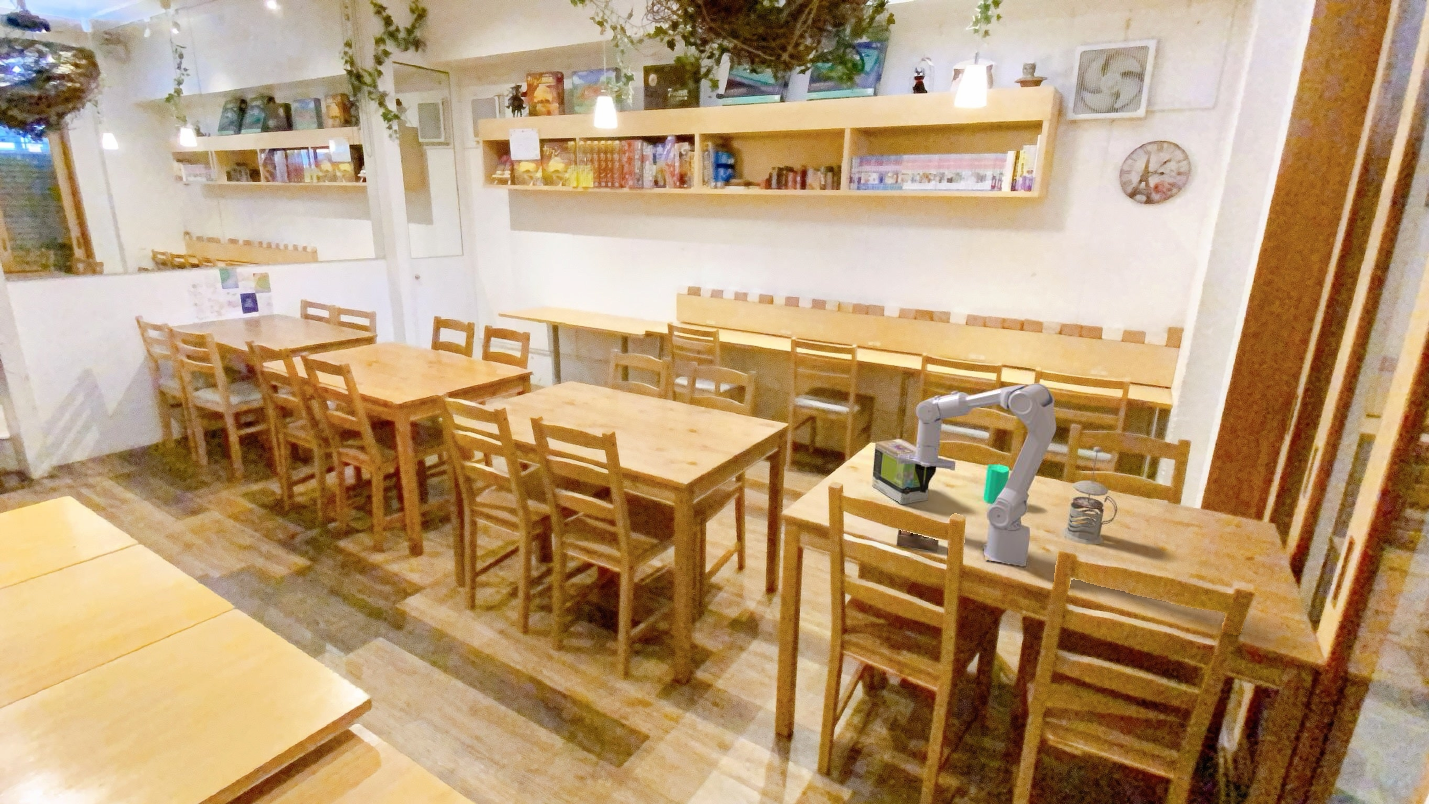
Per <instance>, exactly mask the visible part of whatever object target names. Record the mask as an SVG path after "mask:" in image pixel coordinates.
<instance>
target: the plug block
mask: <svg viewBox="0 0 1429 804" xmlns="http://www.w3.org/2000/svg"><path fill="white" fill-rule="evenodd" d="M896 538H897V539H896V547H903V548H909V549H915V550H920V551H929V552H932V553H938V551H939V550H938V548H939V541H940V540H932V539H925V537H924V536H922V535H918V534H913V533H911V536H906V535H901V530H899V529H898V531H897V537H896Z"/></svg>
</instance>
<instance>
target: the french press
mask: <svg viewBox="0 0 1429 804" xmlns="http://www.w3.org/2000/svg"><path fill="white" fill-rule="evenodd" d="M1102 450H1103V449H1102V448H1101V447H1099V446H1095V447H1093V451H1092V452H1095V453H1096V454H1095V459H1094V466H1093V471H1092V475H1091V480H1080V481H1075V482H1074V483H1073V489H1075V490H1076V491H1078V492H1079V493H1082V494H1085V495H1088V496H1076V497H1073V498H1072V502H1071V503H1070V508H1069V514H1068V519H1067V525H1066V527H1064V528H1063V529H1062V530H1061V535H1062V536H1064V537H1065V538H1067V539H1068V540H1070V541H1073V542H1075V543H1079V544H1083V545H1099V544H1101V543H1103V541H1104V539H1103V537H1102V535H1101V533H1102V527H1103V525H1108V524H1110V523H1111V522H1113V521H1114V519H1115V517H1116V515H1117V513H1118V505H1117V502H1116V501H1115V500H1114V499H1113V498H1112V497H1111V496H1110V495H1107V494H1108V493H1109V489H1108V488H1107V487H1106V486H1105V485H1103V484H1101V483H1099V482H1096V481H1093V479H1094V475H1095V469H1096V463H1097V458H1098V453H1099V454H1100V453H1102ZM1105 495H1106V496H1105ZM1091 496H1095V497H1096V496H1098V497H1101V496H1105V498H1104V503H1107V501H1109V503H1111V504H1112V505H1113V508H1114V513H1113V517H1112V518H1110V519H1109V520H1104V521H1103V517H1104V508H1103V507H1104V503H1103V502H1102V501H1101V500H1098V499H1095V498H1093V497H1091ZM1079 509H1083V510H1079ZM1096 510H1097V511H1096ZM1089 512H1090V513H1089ZM1091 512H1092V513H1091ZM1078 518H1079V519H1078ZM1077 522H1078V523H1077Z"/></svg>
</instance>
